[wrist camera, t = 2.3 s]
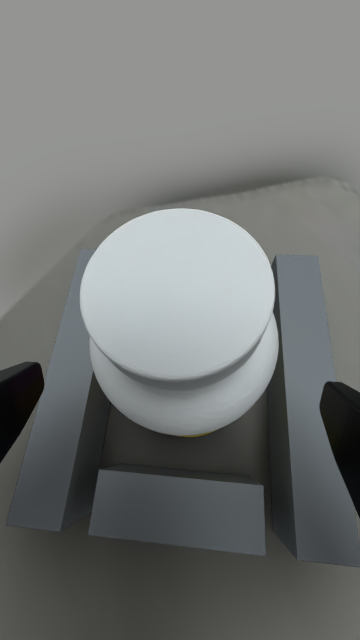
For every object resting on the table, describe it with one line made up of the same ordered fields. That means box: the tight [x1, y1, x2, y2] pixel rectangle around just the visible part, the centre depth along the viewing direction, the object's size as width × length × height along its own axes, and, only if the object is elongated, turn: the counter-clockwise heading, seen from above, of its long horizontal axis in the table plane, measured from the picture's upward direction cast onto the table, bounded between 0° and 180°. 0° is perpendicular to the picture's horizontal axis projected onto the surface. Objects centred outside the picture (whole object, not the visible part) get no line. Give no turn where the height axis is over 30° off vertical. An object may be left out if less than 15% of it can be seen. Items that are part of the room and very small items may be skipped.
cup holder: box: [6, 249, 360, 567], centre depth 16 cm, size 15×15×4 cm
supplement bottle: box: [80, 209, 279, 437], centre depth 12 cm, size 7×7×13 cm
